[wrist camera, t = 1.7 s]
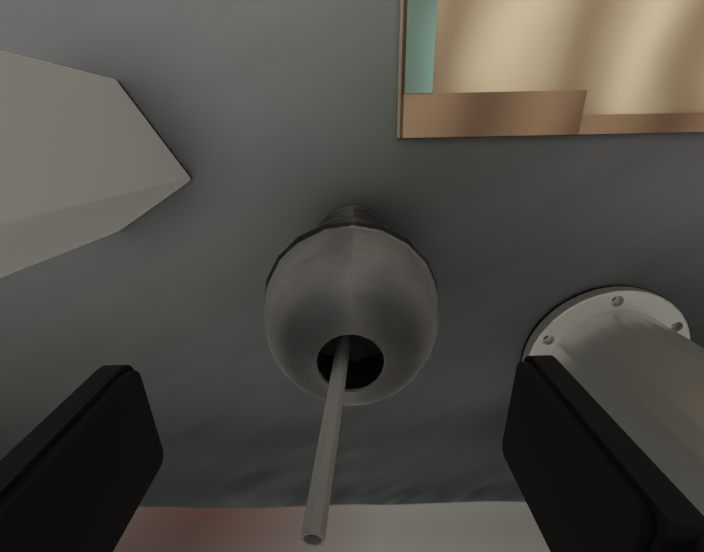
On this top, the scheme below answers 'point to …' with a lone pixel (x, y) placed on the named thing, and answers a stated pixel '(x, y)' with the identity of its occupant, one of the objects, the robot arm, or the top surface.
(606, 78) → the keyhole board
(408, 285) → the beverage cup
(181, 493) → the top surface
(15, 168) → the milk carton
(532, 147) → the top surface
